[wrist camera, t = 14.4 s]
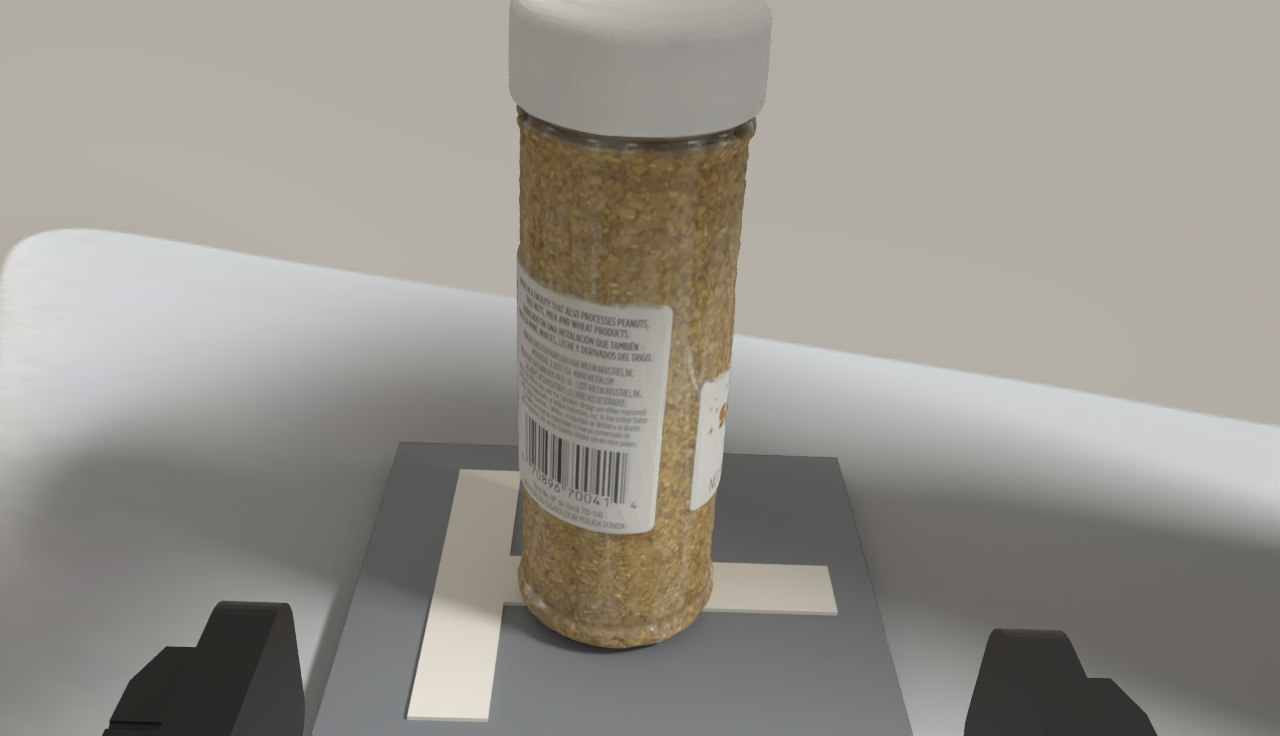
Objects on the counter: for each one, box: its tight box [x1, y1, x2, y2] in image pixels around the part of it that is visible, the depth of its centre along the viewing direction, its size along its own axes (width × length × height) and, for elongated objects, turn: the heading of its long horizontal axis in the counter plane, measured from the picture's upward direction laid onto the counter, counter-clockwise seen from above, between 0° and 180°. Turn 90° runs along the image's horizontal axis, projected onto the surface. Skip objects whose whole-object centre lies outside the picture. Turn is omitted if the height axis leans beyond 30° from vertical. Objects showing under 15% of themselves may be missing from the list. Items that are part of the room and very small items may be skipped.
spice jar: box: [509, 0, 772, 648], centre depth 23 cm, size 5×5×14 cm
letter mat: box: [311, 442, 913, 736], centre depth 27 cm, size 12×11×1 cm
